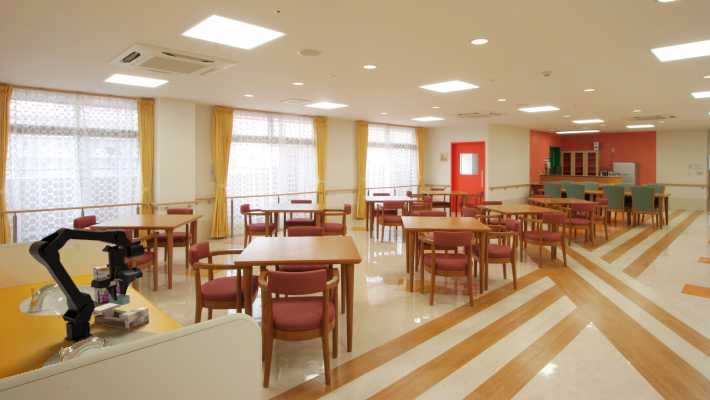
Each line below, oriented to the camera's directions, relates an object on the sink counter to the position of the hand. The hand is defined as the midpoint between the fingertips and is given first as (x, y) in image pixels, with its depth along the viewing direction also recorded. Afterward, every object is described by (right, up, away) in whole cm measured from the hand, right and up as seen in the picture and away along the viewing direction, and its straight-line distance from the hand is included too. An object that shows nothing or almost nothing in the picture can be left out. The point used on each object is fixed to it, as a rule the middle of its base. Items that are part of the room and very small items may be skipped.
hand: (119, 299), depth 167 cm
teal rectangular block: (0, -1, 0) cm, 1 cm away
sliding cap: (-7, -8, +4) cm, 12 cm away
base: (+1, -10, +1) cm, 10 cm away
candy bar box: (-21, -8, +30) cm, 38 cm away
